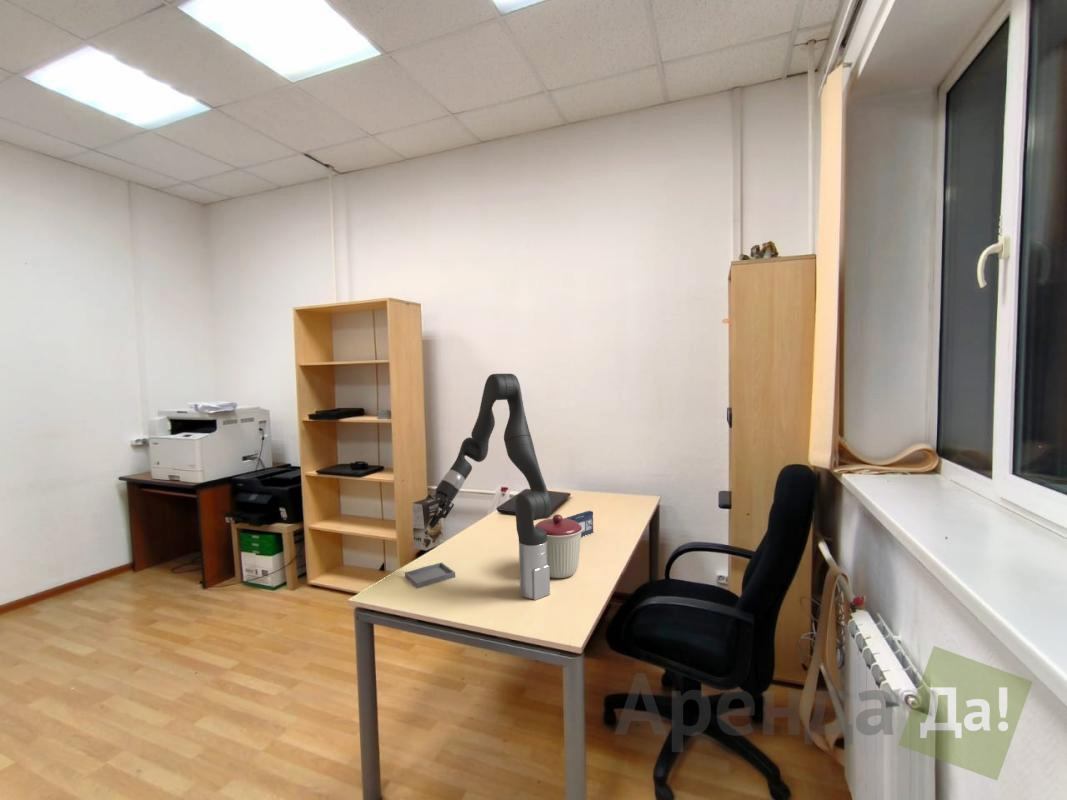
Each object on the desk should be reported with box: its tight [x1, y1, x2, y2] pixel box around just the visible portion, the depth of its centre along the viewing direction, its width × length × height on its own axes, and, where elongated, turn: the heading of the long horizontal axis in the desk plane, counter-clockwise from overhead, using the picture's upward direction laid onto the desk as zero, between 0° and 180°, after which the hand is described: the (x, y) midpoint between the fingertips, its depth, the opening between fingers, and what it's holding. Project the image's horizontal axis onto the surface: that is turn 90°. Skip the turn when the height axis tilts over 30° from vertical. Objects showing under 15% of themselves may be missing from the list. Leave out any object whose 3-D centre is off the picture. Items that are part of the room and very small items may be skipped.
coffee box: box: [411, 497, 445, 552], centre depth 165 cm, size 9×6×16 cm
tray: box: [404, 561, 456, 589], centre depth 166 cm, size 11×14×2 cm
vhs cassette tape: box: [564, 510, 594, 538], centre depth 202 cm, size 18×3×10 cm, turn 129°
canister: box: [534, 514, 583, 579], centre depth 167 cm, size 18×18×21 cm
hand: (424, 523), depth 164 cm, fingers closed on coffee box, 7 cm apart
